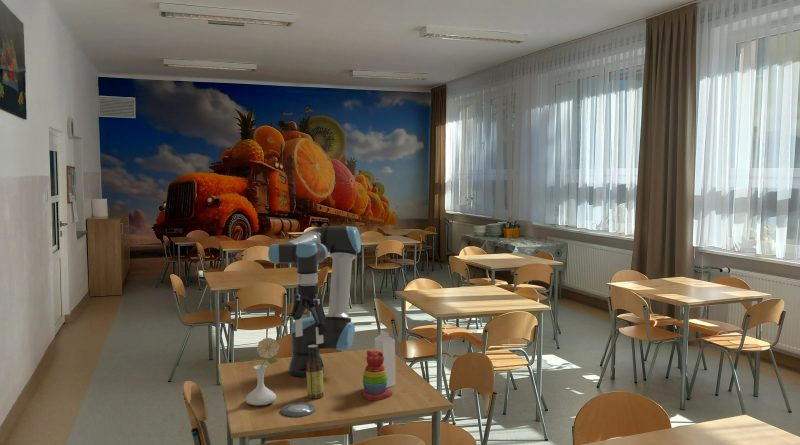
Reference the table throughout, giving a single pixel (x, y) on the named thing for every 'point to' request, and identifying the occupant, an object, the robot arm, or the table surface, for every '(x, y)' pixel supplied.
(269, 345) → the flower in vase
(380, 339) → the milk
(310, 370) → the sauce bottle
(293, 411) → the coaster
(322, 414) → the table surface
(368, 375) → the stacking bear
